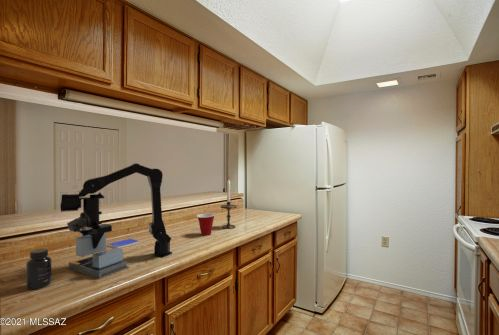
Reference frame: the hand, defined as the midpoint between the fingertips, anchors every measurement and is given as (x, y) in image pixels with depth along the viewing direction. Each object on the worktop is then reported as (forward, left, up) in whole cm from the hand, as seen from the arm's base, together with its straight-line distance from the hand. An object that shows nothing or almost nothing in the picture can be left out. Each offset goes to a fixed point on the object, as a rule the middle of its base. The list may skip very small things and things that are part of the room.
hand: (91, 247), depth 111 cm
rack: (0, +5, -7) cm, 9 cm away
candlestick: (-85, +12, -8) cm, 86 cm away
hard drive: (-26, -15, -8) cm, 31 cm away
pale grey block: (0, 0, -2) cm, 2 cm away
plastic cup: (-63, +10, -8) cm, 64 cm away
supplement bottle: (+20, +3, -8) cm, 21 cm away
